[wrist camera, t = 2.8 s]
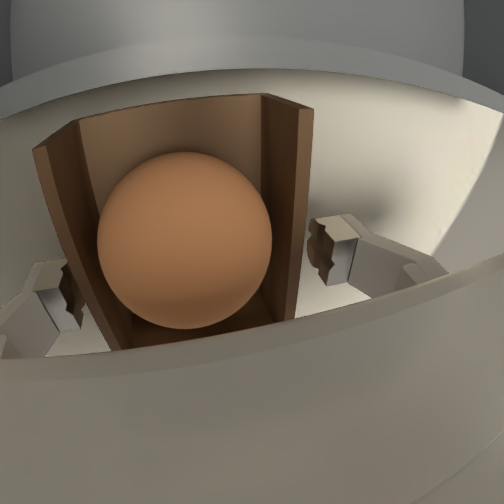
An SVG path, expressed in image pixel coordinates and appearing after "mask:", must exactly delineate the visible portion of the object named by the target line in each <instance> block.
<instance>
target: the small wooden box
mask: <svg viewBox="0 0 504 504" xmlns="http://www.w3.org/2000/svg"><path fill="white" fill-rule="evenodd" d="M313 119H314V109H312V108H310V107H307V106H304V105H301V104H299V103H296V102H293V101H290V100H287V99H284V98H281V97H278V96H275V95H271V94H268V93H259V94H234V95H219V96H207V97H197V98H188V99H179V100H172V101H164V102H158V103H151V104H145V105H139V106H134V107H129V108H124V109H119V110H114V111H109V112H105V113H100V114H96V115H92V116H88V117H84V118H80V119H76V120H73V121H71V122H69V123H68V124H66V125H65V126H64V127H62V128H61V129H59V130H58V131H56V132H55V133H54V134H52V135H51V136H49V137H48V138H47V139H45V140H44V141H43V142H41V143H40V144H39V145H37V146H36V147H35V148H33V149H32V152H33V156H34V160H35V164H36V168H37V172H38V176H39V180H40V183H41V187H42V190H43V194H44V197H45V200H46V203H47V206H48V210H49V213H50V216H51V219H52V221H53V224H54V227H55V230H56V233H57V236H58V238H59V241H60V244H61V246H62V249H63V251H64V254H65V256H66V259H67V261H68V264H69V266H70V268H71V271H72V273H73V275H74V278H75V280H76V282H77V284H78V286H79V289H80V291H81V293H82V295H83V297H84V299H85V301H86V303H87V306H88V308H89V310H90V312H91V314H92V316H93V318H94V319H95V321H96V323H97V325H98V327H99V329H100V331H101V333H102V335H103V336H104V338H105V340H106V342H107V344H108V345H109V347H110V349H111V351H118V350H126V349H134V348H141V347H148V346H155V345H162V344H169V343H175V342H181V341H187V340H193V339H199V338H204V337H210V336H215V335H220V334H226V333H231V332H236V331H241V330H246V329H250V328H255V327H260V326H265V325H269V324H274V323H278V322H283V321H287V320H291V319H294V317H295V310H296V302H297V295H298V287H299V279H300V270H301V262H302V253H303V243H304V234H305V224H306V214H307V203H308V191H309V179H310V166H311V152H312V137H313ZM174 152H196V153H202V154H207V155H210V156H213V157H216V158H218V159H220V160H222V161H225V162H227V163H228V164H230V165H231V166H233V167H234V168H236V169H237V170H239V171H240V172H241V173H242V174H243V175H244V176H246V178H247V179H248V180H249V181H250V182H251V183H252V184H253V185H254V187H255V188H256V190H257V191H258V193H259V194H260V196H261V198H262V200H263V202H264V204H265V206H266V209H267V212H268V215H269V219H270V224H271V231H272V250H271V256H270V262H269V265H268V268H267V271H266V274H265V276H264V278H263V280H262V282H261V284H260V286H259V287H258V289H257V290H256V292H255V293H254V295H253V296H252V297H251V298H250V299H249V301H248V302H247V303H246V304H244V305H243V306H242V307H241V308H240V309H239V310H238V311H236V312H235V313H233V314H232V315H231V316H229V317H227V318H225V319H223V320H222V321H219V322H217V323H214V324H212V325H208V326H204V327H200V328H192V329H175V328H169V327H164V326H160V325H157V324H154V323H152V322H149V321H147V320H145V319H143V318H141V317H140V316H138V315H137V314H135V313H133V312H132V311H131V310H130V309H129V308H127V307H126V306H125V305H124V304H123V303H122V302H121V301H120V300H119V299H118V298H117V296H116V295H115V294H114V292H113V291H112V289H111V288H110V286H109V284H108V282H107V281H106V279H105V276H104V274H103V271H102V268H101V265H100V261H99V257H98V249H97V231H98V225H99V220H100V216H101V213H102V210H103V207H104V205H105V203H106V201H107V199H108V197H109V195H110V194H111V192H112V191H113V189H114V188H115V186H116V185H117V184H118V183H119V181H120V180H121V179H122V178H123V177H124V176H125V175H126V174H128V173H129V172H130V171H131V170H132V169H134V168H135V167H137V166H138V165H140V164H141V163H143V162H145V161H147V160H149V159H152V158H154V157H157V156H160V155H164V154H168V153H174Z"/></svg>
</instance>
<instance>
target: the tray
mask: <svg viewBox="0 0 504 504" xmlns="http://www.w3.org/2000/svg"><path fill="white" fill-rule="evenodd" d="M247 68H274V69H301V70H316V71H327V72H337V73H346V74H354V75H361V76H368V77H374V78H380V79H385V80H391V81H396V82H401V83H405V84H410V85H414V86H419V87H423V88H427V89H431V90H435V91H438V92H442V93H446V94H449V95H452V96H456V97H459V98H462V99H465V100H468V101H471V102H474V103H477V104H480V105H483V106H486V107H488V108H491V109H494V110H496V111H499V112H501V113H504V0H0V120H1V119H3V118H6V117H8V116H10V115H13V114H15V113H18V112H20V111H23V110H26V109H28V108H31V107H34V106H37V105H40V104H42V103H45V102H48V101H51V100H55V99H58V98H61V97H64V96H68V95H71V94H75V93H78V92H82V91H86V90H89V89H93V88H97V87H102V86H106V85H110V84H115V83H120V82H125V81H130V80H135V79H141V78H147V77H153V76H160V75H167V74H175V73H184V72H194V71H205V70H220V69H247Z"/></svg>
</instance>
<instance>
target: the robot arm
mask: <svg viewBox="0 0 504 504" xmlns="http://www.w3.org/2000/svg"><path fill="white" fill-rule="evenodd" d="M309 231H310V233H311V234H312V235H311V237H310V238H309V239H308V241H307V254H308V258H309V260H310V262H311V264H312V266H314V267H316V268H318V269H319V272H318V275H319V276H320V277H321V279H322V280H323V282H324V283H325V285H326V286H330V285H335V284H340V283H345V282H348V283H349V284H350V285H352V286H353V287H355V288H357V289H358V290H360V291H361V292H363V293H365V294H366V295H368V296H369V297H371V298H372V299H368V300H365V301H361V302H358V303H354V304H350V305H347V306H343V307H339V308H336V309H332V310H328V311H324V312H320V313H316V314H312V315H308V316H304V317H300V318H295V319H291V320H287V321H283V322H278V323H274V324H269V325H265V326H260V327H255V328H250V329H246V330H241V331H236V332H231V333H226V334H220V335H215V336H210V337H204V338H199V339H193V340H187V341H181V342H175V343H169V344H162V345H155V346H148V347H141V348H134V349H126V350H118V351H109V352H100V353H91V354H80V355H69V356H56V357H45V355H46V353H47V352H48V350H49V349H50V347H51V346H52V344H53V343H54V341H55V340H56V338H57V337H58V335H59V334H60V333H59V332H65V331H72V330H79V329H81V324H82V319H83V313H82V311H81V309H82V308H83V306H84V305H85V302H86V301H85V299H84V297H83V295H82V293H81V291H80V289H79V286H78V284H77V282H76V280H75V278H74V275H73V273H72V271H71V268H70V266H69V264H68V261H67V259H66V258H62V259H56V260H50V261H43V262H39V263H35V264H33V265H32V267H31V270H30V272H29V274H28V276H27V278H26V281H25V283H24V285H23V288H22V290H21V292H20V294H17V295H15V296H14V297H13V298H12V299H11V300H10V301H9V302H8V303H7V304H6V305H5V306H4V307H3V308H2V309H1V310H0V504H504V253H503V254H500V255H498V256H495V257H493V258H490V259H488V260H485V261H483V262H480V263H477V264H475V265H472V266H469V267H467V268H464V269H461V270H458V271H455V272H453V273H450V274H449V273H448V272H447V271H446V270H445V269H444V268H443V267H442V266H441V265H440V264H439V263H438V262H437V261H436V260H435V259H434V258H433V257H431V256H429V255H427V254H424V253H422V252H419V251H417V250H415V249H412V248H410V247H407V246H405V245H402V244H400V243H397V242H395V241H392V240H389V239H387V238H384V237H382V236H379V235H373V234H372V233H371V232H370V231H369V230H368V229H367V228H366V227H365V226H364V225H363V224H362V223H361V222H360V221H359V220H358V219H357V218H355V217H354V216H353V215H352V214H350V213H346V214H340V215H335V216H328V217H322V218H316V219H311V221H310V223H309Z"/></svg>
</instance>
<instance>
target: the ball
mask: <svg viewBox="0 0 504 504" xmlns="http://www.w3.org/2000/svg"><path fill="white" fill-rule="evenodd" d="M97 249H98V257H99V261H100V265H101V268H102V271H103V274H104V276H105V279H106V281H107V282H108V284H109V286H110V288H111V289H112V291H113V292H114V294H115V295H116V296H117V298H118V299H119V300H120V301H121V302H122V303H123V304H124V305H125V306H126V307H127V308H129V309H130V310H131V311H132V312H133V313H135V314H137V315H138V316H140V317H141V318H143V319H145V320H147V321H149V322H152V323H154V324H157V325H160V326H164V327H169V328H175V329H192V328H200V327H204V326H208V325H212V324H214V323H217V322H219V321H222V320H223V319H225V318H227V317H229V316H231V315H232V314H233V313H235V312H236V311H238V310H239V309H240V308H241V307H242V306H243V305H244V304H246V303H247V302H248V301H249V299H250V298H251V297H252V296H253V295H254V293H255V292H256V290H257V289H258V287H259V286H260V284H261V282H262V280H263V278H264V276H265V274H266V271H267V268H268V265H269V262H270V256H271V250H272V231H271V224H270V219H269V215H268V212H267V209H266V206H265V204H264V202H263V200H262V198H261V196H260V194H259V193H258V191H257V190H256V188H255V187H254V185H253V184H252V183H251V182H250V181H249V180H248V179H247V178H246V176H244V175H243V174H242V173H241V172H240V171H239V170H237V169H236V168H234V167H233V166H231V165H230V164H228V163H227V162H225V161H222V160H220V159H218V158H216V157H213V156H210V155H207V154H202V153H196V152H174V153H168V154H164V155H160V156H157V157H154V158H152V159H149V160H147V161H145V162H143V163H141V164H140V165H138V166H137V167H135V168H134V169H132V170H131V171H130V172H129V173H128V174H126V175H125V176H124V177H123V178H122V179H121V180H120V181H119V183H118V184H117V185H116V186H115V188H114V189H113V191H112V192H111V194H110V195H109V197H108V199H107V201H106V203H105V205H104V207H103V210H102V213H101V216H100V220H99V225H98V231H97Z"/></svg>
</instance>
